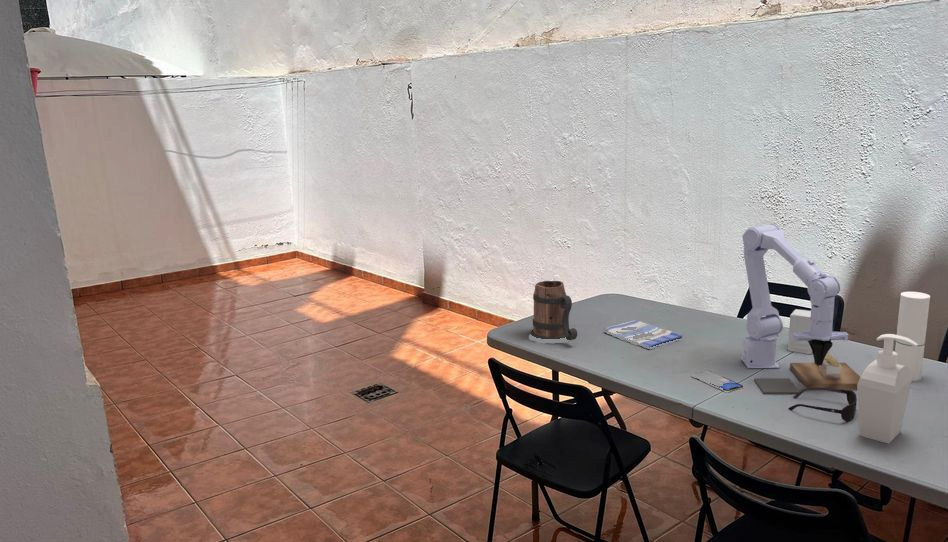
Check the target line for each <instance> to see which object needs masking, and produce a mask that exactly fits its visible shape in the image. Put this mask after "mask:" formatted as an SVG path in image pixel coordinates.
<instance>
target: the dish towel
mask: <svg viewBox="0 0 948 542" xmlns="http://www.w3.org/2000/svg"><path fill="white" fill-rule="evenodd" d="M627 327H637V328H636V329H634V330H639V331H640V332H641V333H640V332H636V331H633V330H621V329H622V328H627ZM604 330H605V331H608V332H611V333H613V334H616V335H618V336H621V337H624V338H626V339H628V340H629V339H630V340H631V341H634V342H638V343H639V344H641V345H644V346H646V347H649V348H650V347H653V346H656V345H659V344H662V343H666V342H669V341H673V340H676V339H682V338H683V335H682V334H681V333H679V332H674V331H672V330H668V329H664V328H659V327H657V326H655V325H653V324H649V323H645V322H643V321H640V320H639V319H635V320H631V321H627V322H623V323H619V324H617V325H616V324H614V325H611V326H610V325H609V326H608V327H605V329H604ZM616 331H618V332H627V333H628V334H626V335H622V333H617V332H616ZM633 332H635V334H636V335H640V334H642V333H645V334H648V332H649V333H652V334H654V335H653V336H647V337H643V338H639V339H633V336H635V335H634V334H629V333H633ZM645 339H651V340H645Z"/></svg>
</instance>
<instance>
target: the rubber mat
mask: <svg viewBox="0 0 948 542" xmlns="http://www.w3.org/2000/svg"><path fill="white" fill-rule="evenodd" d="M753 381H754V383H755V384H756V385H757V387H758V388H759V390H760V392H761V393H762V392H763V393H762V394H763V395H796V394H797V393H799V392H800V391H801V390H800V389H798V387H797V386H796V385H795V383H793V381H792V380H791V379H790V378H781V377H780V378H776V377H775V378H774V377H773V378H770V377H769V378H768V377H766V378H756V377H755V378H754V377H753Z"/></svg>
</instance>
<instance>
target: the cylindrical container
mask: <svg viewBox="0 0 948 542" xmlns="http://www.w3.org/2000/svg"><path fill="white" fill-rule="evenodd" d="M930 300H931V295H930V294H928V293H925V292H919V291H902V292H901V293H900V299H899V308H898V317H897V318H898V319H897V328H896V335H899V336H903V337H907V338H909V339H911V340H913V341H914V342H916V343H917V344H918V345H917V346H916V347H914V346H912V345H910V344H908V343H905V342H902V341H897V340H895V346H894V347H895V348H894V352H896V353H897V354H898V356H897V364H899V365H903V366H906V367H908V368H909V370H910V372H911V375H912V382H918V381H921V380H922V374H923V373H922V371H923V365H924V364H923V362H924V354H925V345H926V336H927V326H928V320H929V319H928V318H929V309H930V302H931V301H930ZM917 380H918V381H917Z"/></svg>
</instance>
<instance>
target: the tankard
mask: <svg viewBox="0 0 948 542" xmlns="http://www.w3.org/2000/svg"><path fill="white" fill-rule="evenodd" d="M533 291H534V292H533V295H532V299H533V317H532V327H533V328H532V329H531V330H530V333H529V334H531V335H532V336H534V337H536V338H541V339H560V338H565V337H566V339H567V340H570V341H572V340H576V339H577V337H578V331H577V329H576V328H574V327H572V328H570V323H569V322H570V321H569V320H570V313H571V310H572V306H573V301H572V299H571V297H570V295H567V293H566V289H565V284H564V282H563V281H561V280H542V281H539V282H536V283H535V286H534V290H533Z"/></svg>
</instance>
